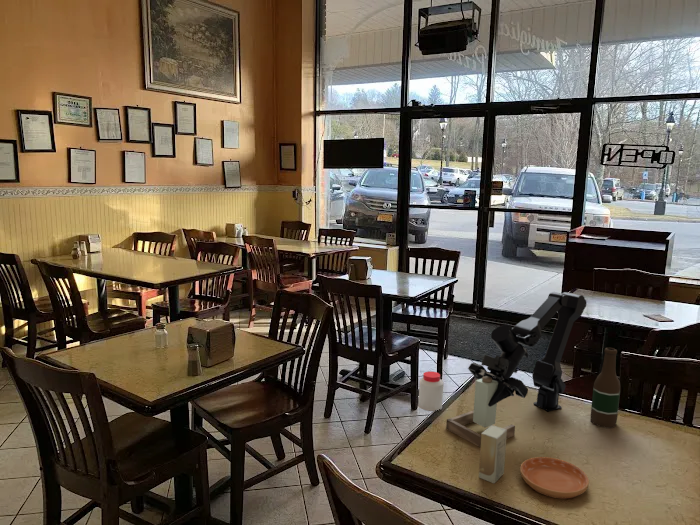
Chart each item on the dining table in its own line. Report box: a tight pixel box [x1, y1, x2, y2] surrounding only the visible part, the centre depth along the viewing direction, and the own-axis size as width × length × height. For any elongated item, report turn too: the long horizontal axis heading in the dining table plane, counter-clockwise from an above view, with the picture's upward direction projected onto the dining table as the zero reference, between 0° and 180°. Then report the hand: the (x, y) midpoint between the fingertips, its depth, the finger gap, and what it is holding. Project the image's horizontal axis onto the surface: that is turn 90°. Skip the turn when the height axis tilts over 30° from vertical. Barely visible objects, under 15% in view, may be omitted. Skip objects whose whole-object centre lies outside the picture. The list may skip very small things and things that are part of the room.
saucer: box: [519, 456, 590, 500], centre depth 133 cm, size 16×16×3 cm
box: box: [445, 409, 516, 449], centre depth 159 cm, size 14×14×3 cm
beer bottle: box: [590, 347, 621, 429], centre depth 166 cm, size 8×8×24 cm
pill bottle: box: [418, 371, 444, 412], centre depth 176 cm, size 8×8×11 cm
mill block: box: [472, 376, 498, 428], centre depth 159 cm, size 5×5×14 cm
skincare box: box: [478, 424, 507, 484], centre depth 135 cm, size 6×4×12 cm
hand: (482, 402), depth 158 cm, fingers closed on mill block, 5 cm apart
